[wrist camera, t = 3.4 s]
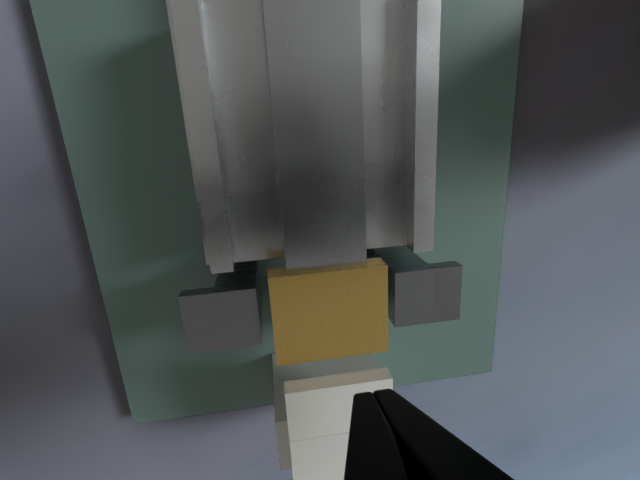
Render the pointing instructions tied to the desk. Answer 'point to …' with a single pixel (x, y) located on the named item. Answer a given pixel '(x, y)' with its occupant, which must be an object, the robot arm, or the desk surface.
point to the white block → (320, 411)
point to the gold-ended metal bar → (321, 186)
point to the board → (192, 272)
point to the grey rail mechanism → (261, 169)
